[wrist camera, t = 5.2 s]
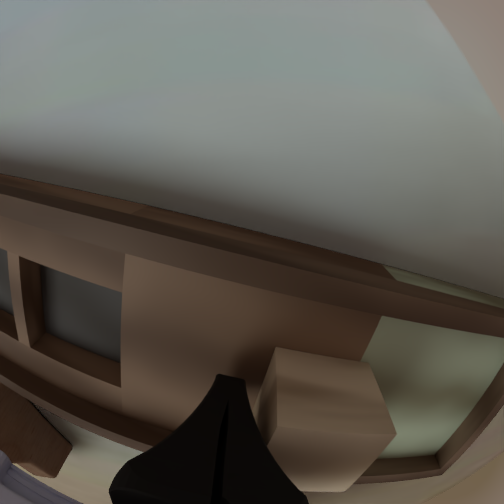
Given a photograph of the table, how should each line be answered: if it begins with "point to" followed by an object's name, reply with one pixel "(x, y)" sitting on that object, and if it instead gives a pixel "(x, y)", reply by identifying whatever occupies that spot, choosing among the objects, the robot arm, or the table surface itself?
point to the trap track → (227, 323)
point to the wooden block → (30, 436)
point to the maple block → (322, 419)
